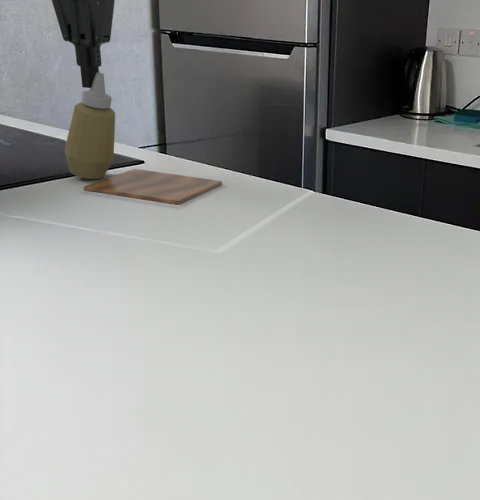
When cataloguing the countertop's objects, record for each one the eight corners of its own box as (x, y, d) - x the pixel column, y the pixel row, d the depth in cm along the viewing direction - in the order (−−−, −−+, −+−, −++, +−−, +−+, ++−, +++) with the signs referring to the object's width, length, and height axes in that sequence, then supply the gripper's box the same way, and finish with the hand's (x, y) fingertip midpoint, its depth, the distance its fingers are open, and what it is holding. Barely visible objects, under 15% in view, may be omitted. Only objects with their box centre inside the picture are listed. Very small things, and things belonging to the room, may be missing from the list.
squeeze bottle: (119, 174, 124) (134, 77, 116) (96, 187, 116) (110, 84, 109) (78, 160, 124) (90, 63, 117) (52, 172, 117) (63, 69, 109)
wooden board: (83, 190, 113) (83, 186, 112) (134, 171, 125) (134, 168, 125) (178, 204, 107) (178, 201, 107) (222, 184, 120) (222, 180, 120)
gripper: (126, -66, 107) (138, 87, 116) (58, -66, 111) (74, 81, 120) (95, -70, 101) (110, 92, 109) (24, -71, 105) (43, 86, 113)
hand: (91, 86), depth 114 cm, fingers closed
